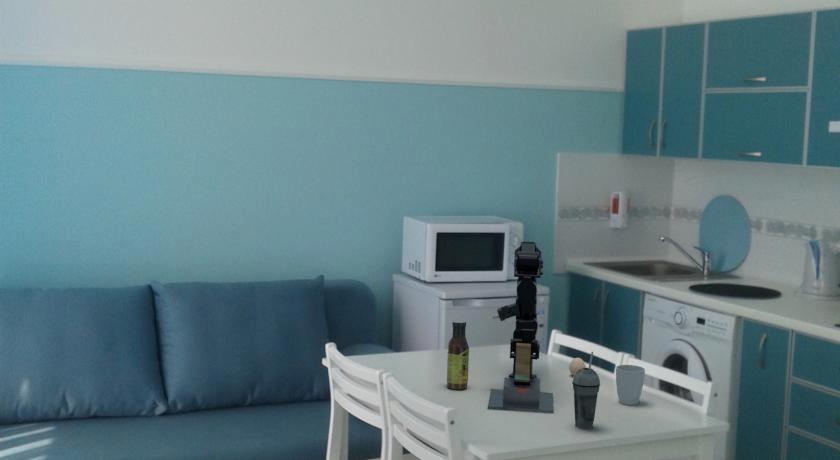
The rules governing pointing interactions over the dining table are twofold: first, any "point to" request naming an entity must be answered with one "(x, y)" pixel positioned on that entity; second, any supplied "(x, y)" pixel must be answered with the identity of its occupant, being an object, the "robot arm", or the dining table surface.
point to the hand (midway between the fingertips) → (526, 348)
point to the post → (522, 362)
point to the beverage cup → (585, 396)
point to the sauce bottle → (458, 357)
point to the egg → (576, 365)
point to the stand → (521, 397)
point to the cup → (629, 383)
